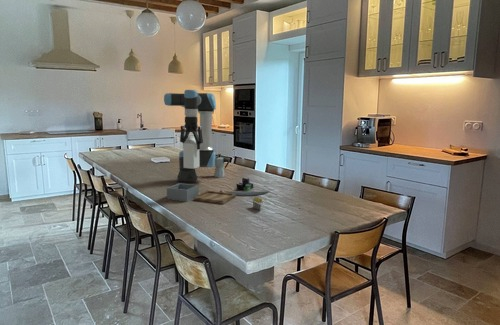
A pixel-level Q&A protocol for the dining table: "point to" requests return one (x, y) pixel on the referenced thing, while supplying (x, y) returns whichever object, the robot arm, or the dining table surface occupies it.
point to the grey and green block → (257, 203)
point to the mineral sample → (246, 188)
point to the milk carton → (190, 154)
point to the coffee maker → (220, 166)
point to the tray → (215, 197)
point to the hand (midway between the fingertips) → (191, 154)
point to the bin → (182, 192)
